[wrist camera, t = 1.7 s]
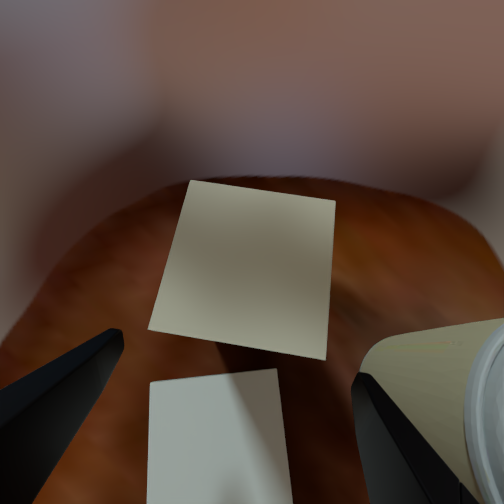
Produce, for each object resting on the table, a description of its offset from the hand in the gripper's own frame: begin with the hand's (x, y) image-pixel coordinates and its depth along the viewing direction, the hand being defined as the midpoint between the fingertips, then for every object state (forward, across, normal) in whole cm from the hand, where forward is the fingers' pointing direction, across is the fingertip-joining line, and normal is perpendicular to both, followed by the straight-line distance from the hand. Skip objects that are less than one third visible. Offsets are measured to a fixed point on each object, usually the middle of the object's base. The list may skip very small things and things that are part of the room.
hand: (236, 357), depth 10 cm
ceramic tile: (+2, +1, +12) cm, 12 cm away
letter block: (+9, 0, +5) cm, 11 cm away
